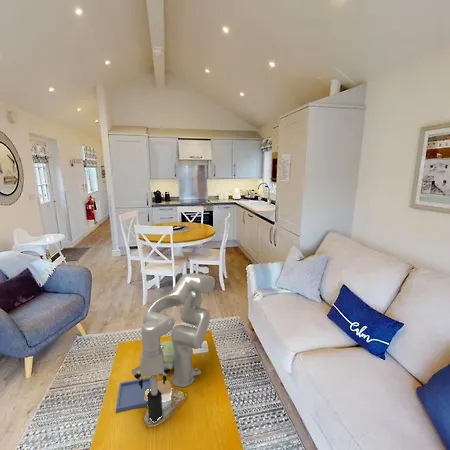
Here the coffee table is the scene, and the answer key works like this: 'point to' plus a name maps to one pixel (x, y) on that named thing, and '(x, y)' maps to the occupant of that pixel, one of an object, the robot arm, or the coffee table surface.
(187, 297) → the robot arm
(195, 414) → the coffee table surface
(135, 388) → the slate blue tray
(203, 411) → the coffee table surface
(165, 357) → the decorative sphere
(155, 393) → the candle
